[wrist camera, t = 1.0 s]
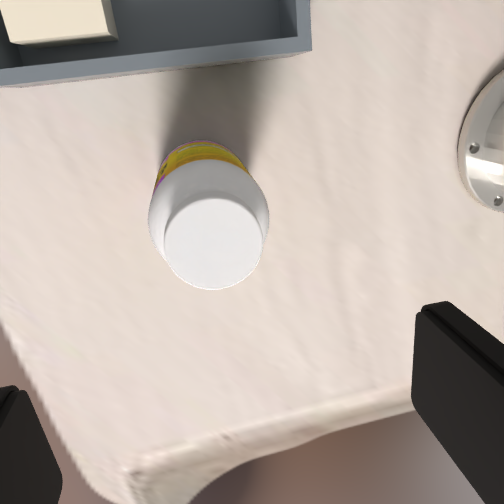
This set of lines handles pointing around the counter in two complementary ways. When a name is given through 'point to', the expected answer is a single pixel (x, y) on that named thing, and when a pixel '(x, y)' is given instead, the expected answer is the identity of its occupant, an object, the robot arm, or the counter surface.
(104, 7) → the cream rectangular box
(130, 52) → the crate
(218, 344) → the counter surface
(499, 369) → the robot arm
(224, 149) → the supplement bottle
